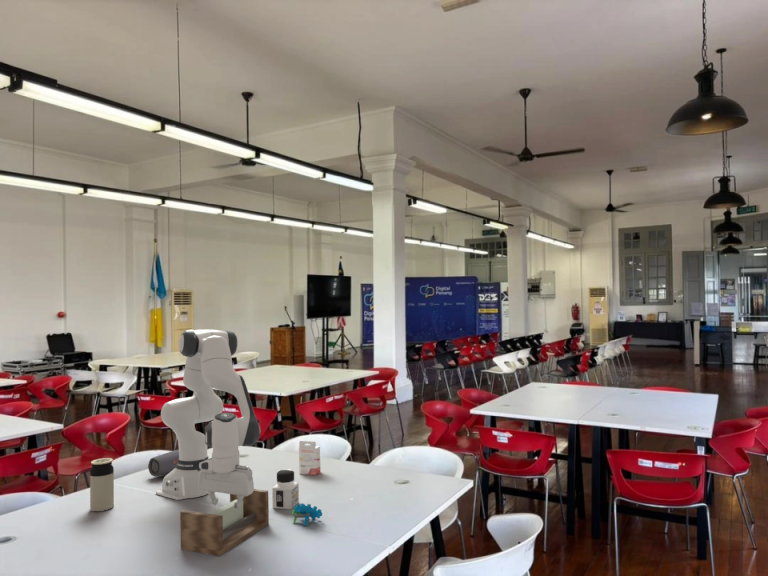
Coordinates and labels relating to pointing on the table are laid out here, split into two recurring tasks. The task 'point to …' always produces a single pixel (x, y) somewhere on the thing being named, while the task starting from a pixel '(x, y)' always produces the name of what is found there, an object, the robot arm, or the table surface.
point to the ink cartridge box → (309, 458)
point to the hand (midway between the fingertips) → (226, 505)
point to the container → (285, 490)
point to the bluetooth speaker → (163, 463)
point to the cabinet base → (208, 528)
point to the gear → (306, 512)
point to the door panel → (229, 513)
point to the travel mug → (101, 485)
